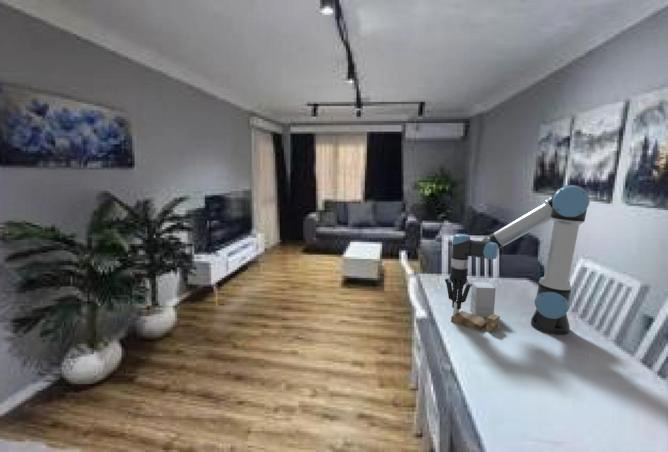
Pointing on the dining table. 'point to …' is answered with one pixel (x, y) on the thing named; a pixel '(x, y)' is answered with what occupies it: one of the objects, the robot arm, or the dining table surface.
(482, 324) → the brown wooden slab
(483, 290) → the supplement box
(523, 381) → the dining table surface
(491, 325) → the bench dog
